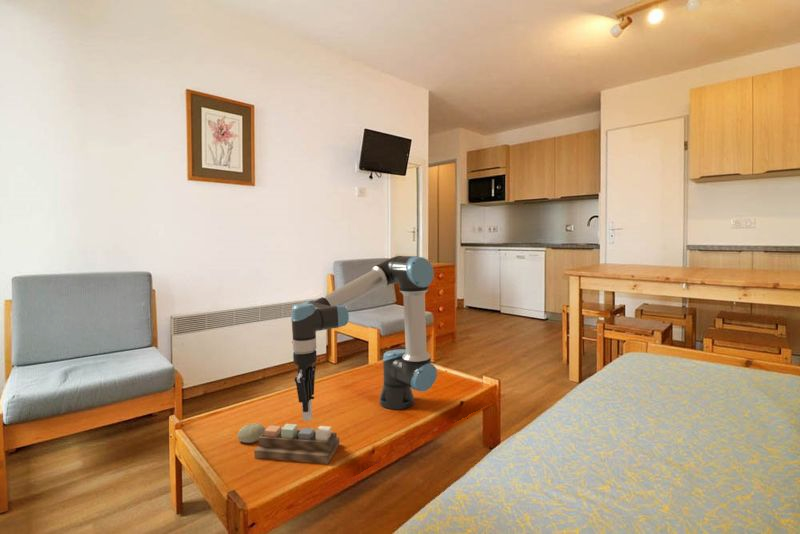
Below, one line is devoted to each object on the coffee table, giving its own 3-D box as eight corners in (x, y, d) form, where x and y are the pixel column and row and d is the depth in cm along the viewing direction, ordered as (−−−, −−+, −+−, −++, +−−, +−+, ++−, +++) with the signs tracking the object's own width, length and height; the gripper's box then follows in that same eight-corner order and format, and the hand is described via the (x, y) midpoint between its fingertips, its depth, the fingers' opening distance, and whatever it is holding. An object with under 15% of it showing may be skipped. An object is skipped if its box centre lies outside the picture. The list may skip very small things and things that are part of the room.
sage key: (297, 434, 134) (297, 424, 134) (292, 440, 130) (292, 429, 130) (286, 433, 135) (286, 423, 135) (281, 439, 131) (281, 429, 131)
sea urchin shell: (239, 427, 145) (255, 412, 145) (255, 441, 146) (271, 426, 146) (231, 440, 136) (247, 423, 136) (248, 455, 137) (264, 438, 137)
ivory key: (331, 436, 133) (331, 426, 132) (327, 442, 129) (327, 432, 129) (319, 435, 133) (319, 425, 133) (315, 441, 129) (315, 431, 129)
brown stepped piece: (339, 444, 137) (339, 429, 136) (328, 463, 125) (327, 447, 125) (271, 439, 140) (271, 424, 140) (254, 457, 128) (254, 441, 128)
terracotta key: (281, 435, 135) (280, 426, 135) (275, 441, 131) (275, 431, 131) (270, 435, 136) (269, 425, 136) (264, 440, 132) (264, 430, 132)
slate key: (314, 438, 134) (314, 428, 133) (309, 444, 130) (309, 434, 129) (303, 437, 134) (302, 427, 134) (298, 443, 130) (298, 433, 130)
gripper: (301, 345, 137) (304, 410, 139) (285, 356, 124) (288, 428, 126) (322, 345, 136) (324, 411, 138) (308, 357, 123) (311, 429, 125)
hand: (307, 419), depth 132 cm, fingers closed
